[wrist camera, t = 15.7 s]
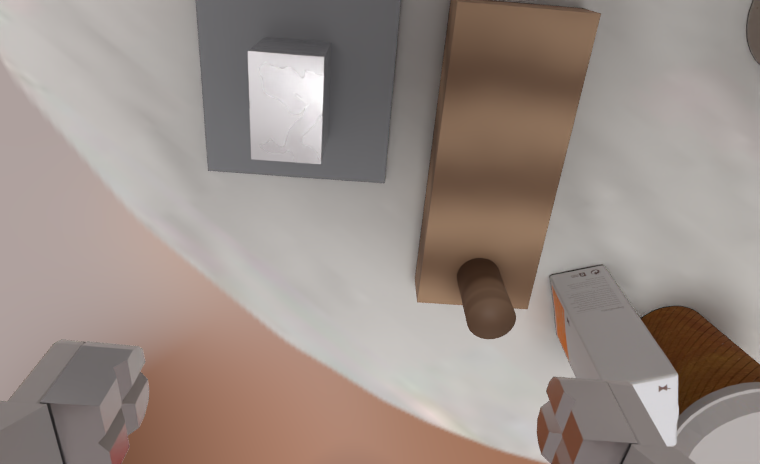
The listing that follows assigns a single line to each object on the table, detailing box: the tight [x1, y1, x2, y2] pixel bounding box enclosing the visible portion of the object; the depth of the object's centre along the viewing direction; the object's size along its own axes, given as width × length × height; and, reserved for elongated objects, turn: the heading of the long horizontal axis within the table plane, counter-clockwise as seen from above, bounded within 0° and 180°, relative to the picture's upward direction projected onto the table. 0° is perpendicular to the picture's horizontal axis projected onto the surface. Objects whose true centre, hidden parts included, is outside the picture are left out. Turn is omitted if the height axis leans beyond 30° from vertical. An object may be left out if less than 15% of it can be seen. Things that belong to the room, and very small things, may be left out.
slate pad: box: [196, 0, 401, 183], centre depth 35 cm, size 12×12×1 cm
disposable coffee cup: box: [641, 306, 760, 464], centre depth 39 cm, size 10×10×12 cm
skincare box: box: [550, 265, 679, 447], centre depth 37 cm, size 6×4×12 cm
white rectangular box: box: [248, 37, 331, 164], centre depth 32 cm, size 6×4×5 cm, turn 176°
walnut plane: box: [415, 0, 601, 339], centre depth 34 cm, size 20×8×8 cm, turn 176°
